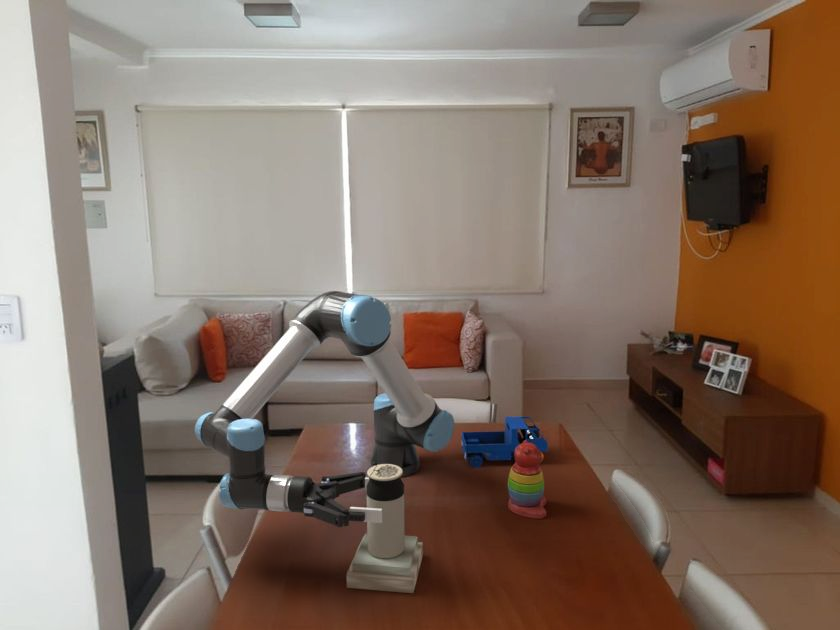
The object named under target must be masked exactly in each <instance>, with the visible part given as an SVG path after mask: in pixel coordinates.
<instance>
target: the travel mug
mask: <svg viewBox="0 0 840 630" xmlns="http://www.w3.org/2000/svg"><path fill="white" fill-rule="evenodd" d="M402 474H403V470H402V469H401V468H400V467H399V466H396V465H392V464H380V465H376V466H373V467H371V468H369V469H368V470H367V473H366V475H367V477H369V482H368V483H367V486H366V490H365V491H366V508H378V509H382V523H374V522H366V526H367V529H366V530H367V531H366V533H367V535H368V551H369V553H370V554H371V555H373V556H375V557H379V558H391V557H395V556H398V555H400V554H401V553H402V552H403V551H404V549H405V536H406V535H405V532H406V531H405V484H404V482H403V480H402V479H401V478H402V477H401V475H402Z"/></svg>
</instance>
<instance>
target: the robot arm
mask: <svg viewBox="0 0 840 630" xmlns="http://www.w3.org/2000/svg"><path fill="white" fill-rule="evenodd" d="M391 322H392V317H391V313H390V311H389V308H388V307H387V306H386V304H385V303H384V302H383V301H381V300H379V299H378V298H376V297H372V296H371V295H367V294H358V293H349V292H344V291H339V290H338V291H337V290H331V291H327V292H324V293H323V292H322V293H321V294H319V295H317V296H316V297H314V298H313V299H312V300H310V301H308V303H306V304H305V305H304V306H303V307H302V308H301V309H300V310H299V311H298V312H297V313H296V314H295V316H293V318H292V319H291V320H290V321H289V323H288V324H289V328H288V329H287V330H286V332H285V333H283V335H282V336H281V337H280V339H278V341H277V342H276V343H275V344H274V345H273V347H271V348H270V350H269V351H268V352H267V353H266V354H265V355H264V357H263V358H262V359H261V360H260V361H259V362H258V363H257V365H256V366H255V367H254V368H253V369H252V370H251V372H249V374H248V375H247V376H246V377H245V378H244V379H243V380H242V382H240V383H239V385H238V386H237V387H236V389H235V390H234V391H233V392H232V393H231V394H230V395H229V396H228V397H227V398H226V400H225V401H224V402H223V403H222V405H221V406H219V407H218V409H217V410H216V411H215V412H213V411H212V412H211V411H210V412H207V413H205V414H202V415H201V416H200V417H199V418H198V419H197V421H196V423H195V426H194V434H195V436H196V439H197V440H198V441H199V442H200V443H202V444H203V445H204V447H206V448H209V449H212V450H213V451H214V452H216V453H218V454H220V455H221V456H223V457H224V458H226V459H228V464H229V472H227V473H225V474H224V475H223V476H222V478H221V480H220V483H219V490H218V499H219V503H220V504H221V505H222V506H224V507H225V508H232V509H237V510H254V511H255V510H259V511H261V510H262V511H272V512H273V511H275V512H279V513H282V512H289V511H290V512H291V513H300V514H303V516H304V517H309V518H314V519H317V520H319V521H322V522H325V523H327V524H330V525H333V526H335V527H338V528H342V527H349V526H350V522H362V523H367V522H374V523H382V509H378V508H367V507H360V506H350V507H349V509H348V508H347V507H345V506H344V505H342V504H340V503H339V502H337V501H335V499H336V498H339V497H340V495H342V494H343V495H344V494H347V493H350V492H354V491H357V490H361V489H364V491H367V490H366V486H367V483H368V482H369V476H366V475H367V473H366V472H364V471H359V472H358V471H357V472H352V473H346V474H340V475H339V474H338V475H331V476H329V475H328V476H327V475H326V476H325V475H324V476H321V482H319V483H315V482H314V480H313V479H312V477H310V476H298V475H296V476H293V475H288V474H287V475H286V474H285V475H283V474H268V473H267V472H266V448H265V447H266V446H265V441H266V439H265V438H266V437H265V434H264V426H263V423H262V422H261V421H260V420H259V419H255V418H254V417H255V416H256V415H257V414H258V413H259V411H260V410H261V409H262V408H263V407H264V405H265V404H266V403H267V402H268V401H269V399H270V398H271V397H272V396H273V394H275V392H276V391H277V390H278V389H279V388H280V386H282V384H283V383H284V382H285V381H286V380H287V378H288V377H290V375H291V374H292V372H293V371H295V369H296V368H297V366H299V365H300V363H301V362H302V361H303V360H304V358H305V357H306V356H307V355H308V354H309V353H310V351H311V350H312V349H313V348H319V347H320V346H321V344H323V342H324V341H325V340H326V339H327V340H328V339H329V338H334V339H339V340H341V342H342V343H343V344H344V345H345V347H346V348H347V350H348V351H349V352H350V354H351V355H352V356H353V357H355V358H361V360H362V361H363V362H364V364H365V365H366V367H367V368H368V370H369V371H370V373H371V374H372V376H373V377H374V379H375V380H376V381H377V383H378V384H379V386H380V387H381V388H382V390H383V392H384V393H381V394H378V395H377V396H376V397H375V399H374V401H373V408H372V409H373V426H374V429H373V430H374V443H373V444H374V445H373V447H372V450H371V453H370V457H369V461H368V462H369V463H368V465H369V467H368V468H369V469H370V468H371V467H373V466H376V465H380V464H392V465H396V466H399V467H400V468H401V469H402V470H403V474H402V475H401V478H402V477H408V476H410V475H413V474H414V473H416V472H417V471H418V470H419V469H420V457H419V455H418V452H417V449H416V446H417V447H419V448H422V449H424V450H426V451H431V452H439V451H441V450H443V449H445V447H446V446H447V445H448V444H449V443H450V441H451V438H452V437H453V434H454V430H455V419H454V416H453V414H452V413H451V412H449V411H447V410H443V409H441V408H440V407H439V406H438V404H437V402H436V400H435V399H434V398H433V396H431V395H430V394H428V393H424V392H423V390H422V388H421V387H420V385H419V383H418V382H417V380H416V379H415V377H414V376H413V374H412V373H411V371H410V370H409V368H408V366H407V365H406V363H405V361H404V360H403V358H402V357H401V355H400V353H399V352H398V350H397V349H396V347H395V346H394V344H393V343H392V341H391V339H390V338H391V336H392V330H391V329H392V328H391V327H392V324H391Z"/></svg>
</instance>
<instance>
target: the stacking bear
mask: <svg viewBox="0 0 840 630" xmlns="http://www.w3.org/2000/svg"><path fill="white" fill-rule="evenodd" d="M514 455H515V460H516V463H515V462H514V464H513V465H512V466H511V467H510V470H509V475H508V478H507V491H508V496H509V500H508V502H507V503H508V504H507V506H508V509H509V510H510V511H511V512H512V513H514V514H516V515H518V516H521V517H526V518H529V519H540V520H541V519H544V518H546V517H547V510H546V509H545V508H544V506H546V505H547V498H546V497H545V496H544V493H545V492H544V491H545V479H544V473H543V471H542V467H541V466H540V465H541V463H542V462H543V460H544V458H545V455H544V454H543V451H540V450H539V449H538V448H537V447H536V445H534V444H532V443H527V440H524V441H523V443H522V444H520V445H518V446H517V447H516V449H515V453H514Z"/></svg>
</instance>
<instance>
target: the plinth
mask: <svg viewBox="0 0 840 630" xmlns="http://www.w3.org/2000/svg"><path fill="white" fill-rule="evenodd" d="M358 545H359V546H358V547H357V550H356V552H355V554H354V557H353V559H352V561H351V564H350V566H349V568H348V570H347V572H346V575H345V576H346V588H348V589H359V590H369V591H370V590H371V591H381V592H392V593H395V592H396V593H405V594H414V593H415V592H414V591H415V589H416V585H417V580H418V576H419V572H420V569H421V563H422V559H423V555H424V548H423V547H424V543H423V542H422V541H421V542H419V538H418V536H416V535H405V549H404V551H403V552H402V553H401V554H400V555H398V556H395V557H391V558H379V557H375V556H373V555H371V554H370V553H369V551H368V535H367V532H365V533H364V535H363V537H362V538H361V541H360V542H359V544H358Z"/></svg>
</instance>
